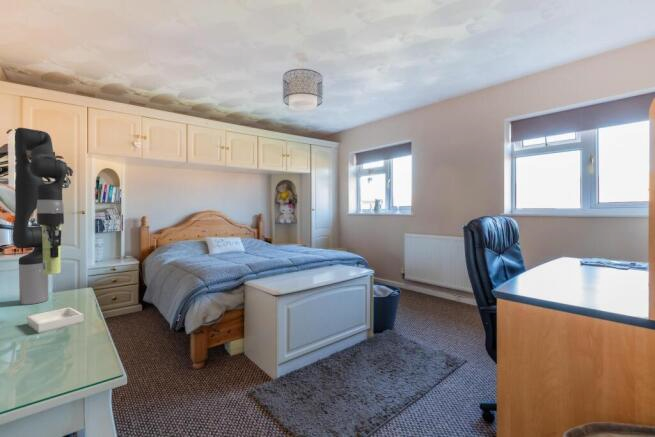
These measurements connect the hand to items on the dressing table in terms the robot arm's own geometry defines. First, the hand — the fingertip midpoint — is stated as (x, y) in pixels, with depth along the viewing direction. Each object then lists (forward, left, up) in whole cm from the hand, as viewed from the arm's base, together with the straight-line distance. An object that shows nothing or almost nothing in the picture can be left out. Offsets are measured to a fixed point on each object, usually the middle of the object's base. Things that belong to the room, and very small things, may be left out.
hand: (51, 256), depth 115 cm
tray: (+10, -2, -23) cm, 25 cm away
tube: (0, 0, -7) cm, 7 cm away
